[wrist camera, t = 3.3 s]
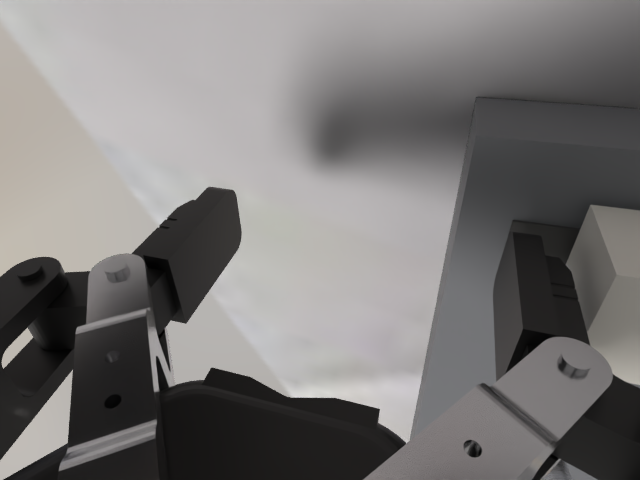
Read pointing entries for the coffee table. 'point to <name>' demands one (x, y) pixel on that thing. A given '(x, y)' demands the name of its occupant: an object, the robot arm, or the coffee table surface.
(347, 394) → the coffee table surface
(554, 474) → the toggle
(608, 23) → the coffee table surface
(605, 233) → the slider
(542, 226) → the panel
